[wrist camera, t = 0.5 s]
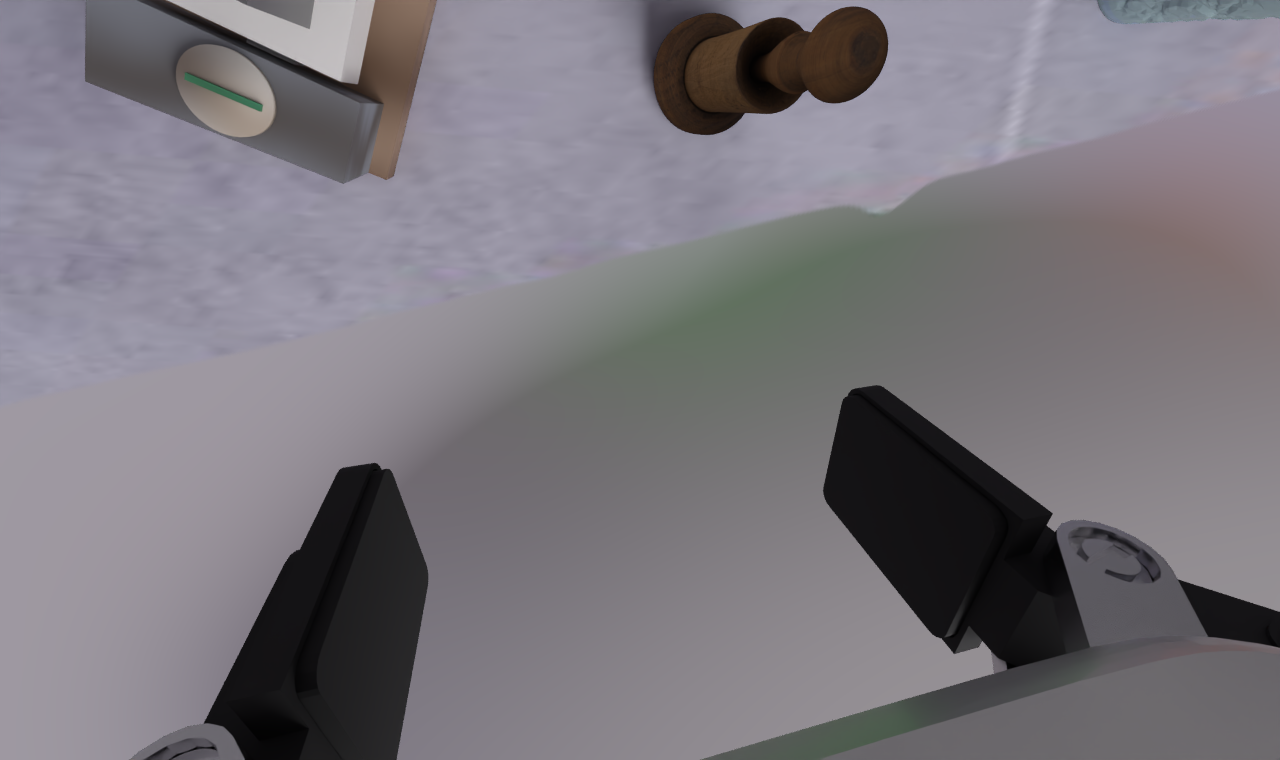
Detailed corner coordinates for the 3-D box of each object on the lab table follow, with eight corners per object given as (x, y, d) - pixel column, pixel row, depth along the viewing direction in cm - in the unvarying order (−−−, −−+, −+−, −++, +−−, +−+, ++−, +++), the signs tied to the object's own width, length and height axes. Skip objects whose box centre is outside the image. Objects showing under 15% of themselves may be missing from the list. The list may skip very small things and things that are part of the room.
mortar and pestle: (632, 69, 31) (746, 33, 16) (709, -9, 30) (911, -130, 15) (691, 154, 34) (831, 191, 19) (762, 87, 33) (971, 69, 18)
